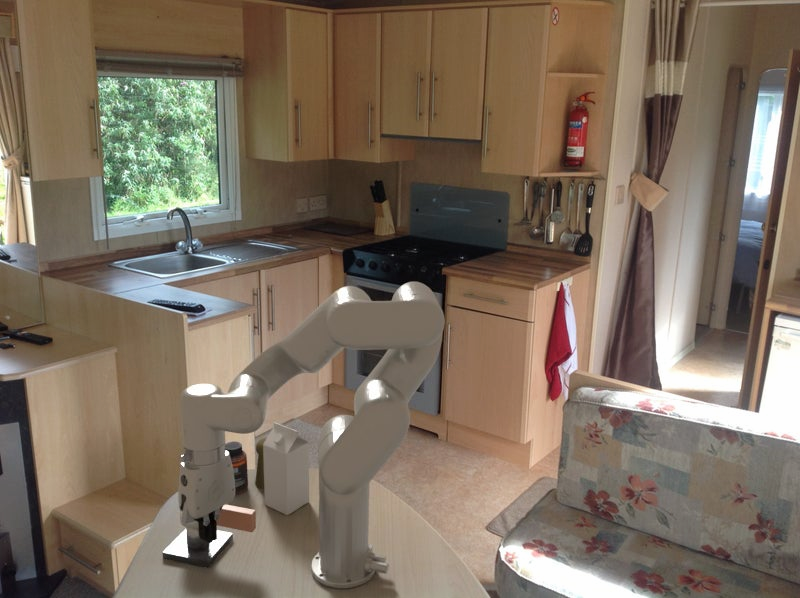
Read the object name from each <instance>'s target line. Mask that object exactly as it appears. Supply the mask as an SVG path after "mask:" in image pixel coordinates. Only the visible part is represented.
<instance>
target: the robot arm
mask: <svg viewBox="0 0 800 598" xmlns="http://www.w3.org/2000/svg"><path fill="white" fill-rule="evenodd" d="M445 319H446V318H445V315H444V311H443V308H442V307H441V306H440V304H439V301H438V299H437V297H436V295H435V294H434V292H433V291H432V289H431V288H430V287H429V286H427V285H426V284H424V283H422V282H419V281H409V282H406V283H404V284H402V285H400V287H398V288H397V289H396V290H395V292H394V293H393V296H392V299H391V300H375V301H374V300H372V299H371V298H370V296H369V294H367V292H366V291H364V289H362V288H359V287H356V286H353V285H346V286H342V287H340V288H339V289H337V290H335V291H334V292H333V293H331V294H330V295H329V296H328V297H327V298H326V299H325V300H324V301H323V302H322V303H321V304H320V305H318V307H316V309H314V310H313V311H312V312H311V313H310V314H309V315H308V316H307V317H305V318H304V319H303V320H302V321H301V322H300V323H299V324H298V325H297V326H296V327H295V328H294V329H292V331H290V332H289V333H288V334H287V335H286V336H284V337H283V338H282V339H280V340H278V341H277V342H275V344H274V343H273V345H271V346H270V347H268V348H266V349H265V350H264V351H263V352H261V353H260V354H259V355H258V356H256V358H254V360H252V361H251V362H250V363H249V364H248V365H247V366H246V367H245V368H243V370H242V371H240V372H239V374H238V375H237V376H236V377H235V378H234V379H233V380H232V382H231V383H230V385H229V388H228V390H227V393H224V392H223V390H222V389H221V388H220V387H219V386H218V385H217V384H212V383H207V382H206V383H205V382H204V383H195V384H192V385H189V386H188V387H187V386H186V388H185V389H183V391H181V394H180V403H179V404H180V418H181V419H180V420H181V435H182V437H181V438H182V439H181V440H182V442H181V443H182V454H181V455H179V456H178V461H179V462H180V467H179V475H178V488H177V489H178V490H177V492H178V493H177V495H178V497H177V498H178V507H179V512H180V511H183V513H182V521H183V522H185V523H187V524H188V523H191V522H194V521H197V522H198V527H199V537H200V538H201V539H203V540H205V541H206V542H208V543H211V542H212V541H213V540H214V541H215V540H216V539H217V530H218V526H217V521H216V520H218V519H219V516H220V511H221V509H222V507H223V506H224V505H225V504H226V505H228V504H229V503H231V502H232V501H233V499H235V497H236V494H235V479H234V471H233V466H232V461H231V458H230V455H229V452H228V451H226V448H225V444H226V432H228V433H235V434H240V435H241V434H242V435H243V434H245V435H246V434H252V433H254V432H256V431H258V430H259V429H260V428H261V427H262V426H263V424H264V423H265V421H266V416H267V409H268V401H269V399H270V398H271V397H272V396H274V394H275V393H276V392H277V391H279V390H280V389H281V388H282V387H283V386H284V385H286V383H288V382H289V381H290V380H291V379H293V378H294V377H296V376H298V375H301V374H316V373H318V372H319V371H321V370H322V369H323V368H324V367H325V366H326V365H327V364H328V363H329V362H330V361H332V360H333V359H335V357H336V356H337V355H338V354H339V353H340V352H341V351H342V350H344V349H347V350H348V349H349V350H355V351H356V350H358V351H371V350H372V351H374V350H375V351H377V350H378V351H379V350H381V351H382V350H383V351H384V350H386V352H385V354H384V355H383V357H382V358H381V359H380V360H379V362H378V363H377V364H376V366H375V367H374V368H373V369H372V370H371V372H370V373H369V374H368V375H367V376H366V378H365V380H363V382H362V383H361V384H360V385H359V386H358V388H357V389H356V391H355V394H354V399H353V410H354V416H353V415H349V414H339V415H336V416H334V417H332V418H330V419H329V420H328V421H327V422H325V424H324V425H323V426H322V428H321V430H320V432H319V436H318V442H317V445H318V446H317V453H318V552H317V553H316V554H315V555H314V556H313V558H312V559H311V563H310V570H311V574H312V576H313V578H314V579H315V580H316V581H317V582H319V583H320V584H321V585H323V586H326V587H329V588H333V589H348V588H349V589H351V588H355V587H359V586H361V585H363V584H365V583H366V582H368V581H369V580H370V579H372V578H373V576H374V575H375V573H376V572H377V573H381V574H386V575H388V572H389V566H390V565H389V563H388V562H386V561H387V556H386V555H381V554H376V553H375V552H373V551H374V550H373V544H371V543H369V524H370V523H369V522H370V521H369V517H370V516H369V515H370V513H369V512H370V511H369V510H370V509H369V508H370V482H371V481H372V480H373V479H374V478H375V476H377V474H378V473H379V471H381V470H382V468H383V466H385V464H386V463H388V460H389V459H390V458H391V457H392V456H393V454H394V453H395V452H396V450H397V449H398V448H399V447H400V445H401V444H402V443H403V441H404V439H405V437H406V436H407V434H408V432H409V429H410V425H411V413H410V409H409V402H410V400H411V399H412V397H413V395H414V394H415V393H416V392H417V390H418V389H419V387H420V386H421V385H422V384H423V381H425V379H426V378H427V376H428V375H429V374H430V372H431V371H432V368H433V367H434V366H435V363H436V361H437V359H438V357H439V353H440V350H441V346H442V343H443V332H444V330H445V329H444V328H445V323H446V320H445Z"/></svg>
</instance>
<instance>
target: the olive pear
mask: <svg viewBox="0 0 800 598" xmlns="http://www.w3.org/2000/svg"><path fill="white" fill-rule="evenodd" d="M266 439H267V437H264V438H261V439H259V440H258V441H257V443H256V444H255V450H256V451H255V452H256V453H257V456H258V457H257V464H256V465H257V466H256V472H255V473H256V475H255V482H254V484H255V487H256V488H259V489H261V490H264V458H263V444H264V442H265V441H266Z"/></svg>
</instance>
